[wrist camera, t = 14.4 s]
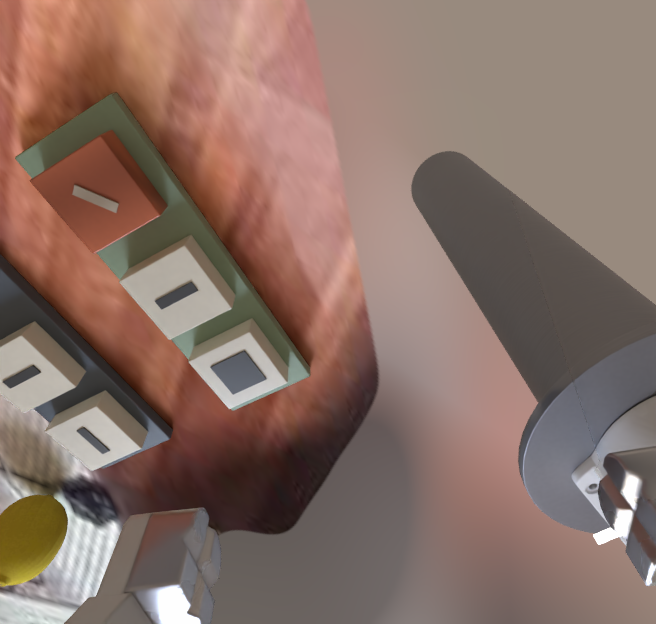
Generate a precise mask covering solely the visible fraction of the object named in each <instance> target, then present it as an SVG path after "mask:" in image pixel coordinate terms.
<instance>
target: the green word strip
mask: <svg viewBox="0 0 656 624" xmlns="http://www.w3.org/2000/svg"><path fill="white" fill-rule="evenodd" d="M109 130H113V131H114V133H115V134H116V136H117V137H118V138H119V140H120V141H121V142H122V144H123V145H124V146H125V148H126V149H127V150H128V152H129V153H130V155H131V156H132V157H133V159H134V160H135V161H136V163H137V164H138V165H139V167H140V168H141V170H142V171H143V172H144V174H145V175H146V176H147V178H148V179H149V180H150V182H151V183H152V185H153V186H154V187H155V189H156V190H157V191H158V193H159V194H160V195H161V197H162V198H163V200H164V201H165V202H166V204H167V205H168V207H167V208H166V209H165V210H164V212H163V213H162V214H161V215H160V216H159V217H157V218H156V219H154V220H152V221H151V222H149V223H147V224H145V225H144V226H142V227H140V228H138V229H137V230H135V231H133V232H131V233H130V234H128V235H126V236H124V237H123V238H121V239H119V240H118V241H116V242H114V243H112V244H111V245H109V246H107V247H105V248H104V249H102V250H100V251H98V252H97V254H98V255H99V256H100V257H101V259H102V260H103V261H104V262H105V263H106V264H107V266H108V267H109V268H110V269H111V270H112V271H113V273H114V274H115V275H116V276H117V277H118V278H119V279H120V281H119V282H120V284H121V285H122V286H123V287H124V288H125V289H126V291H127V292H128V293H129V294H130V295H131V296H132V297H133V299H134V300H135V301H136V302H137V303H138V304H139V306H140V307H141V308H142V309H143V310H144V311H145V312H146V314H147V315H148V316H149V317H150V318H151V319H152V321H153V322H154V323H155V324H156V325H157V326H158V327H159V329H160V330H161V331H162V332H163V333H164V334H165V336H166V337H167V338H168V339H169V340H170V339H171V340H172V341H173V342H174V343H175V344H176V346H177V347H178V348H179V349H180V350H181V351H182V352H183V354H184V355H185V356H186V357H187V358H188V359H189V361H188V362H189V363H190V364H191V366H192V367H193V368H194V369H195V370H196V371H197V372H198V374H199V375H200V376H201V377H202V378H203V379H204V381H205V382H206V383H207V384H208V385H209V386H210V387H211V389H212V390H213V391H214V392H215V393H216V394H217V396H218V397H219V398H220V399H221V400H222V401H223V402H224V404H225V405H226V406H227V407H228V408H229V409H232V410H236V409H238V408H240V407H242V406H244V405H247V404H249V403H251V402H253V401H256V400H258V399H260V398H262V397H265V396H267V395H269V394H271V393H274V392H276V391H278V390H280V389H282V388H285V387H287V386H289V385H291V384H294V383H296V382H298V381H300V380H303V379H305V378H307V377H309V376H310V367H309V366H308V364H307V363H306V361H305V360H304V359H303V357H302V356H301V354H300V353H299V351H298V350H297V349H296V347H295V346H294V344H293V343H292V341H291V340H290V339H289V337H288V336H287V334H286V333H285V331H284V330H283V329H282V327H281V326H280V324H279V323H278V321H277V320H276V319H275V317H274V316H273V314H272V313H271V311H270V310H269V309H268V307H267V306H266V304H265V303H264V301H263V300H262V299H261V297H260V296H259V294H258V293H257V292H256V290H255V289H254V287H253V286H252V284H251V283H250V282H249V280H248V279H247V277H246V276H245V274H244V273H243V272H242V270H241V269H240V267H239V266H238V264H237V263H236V262H235V260H234V259H233V257H232V256H231V254H230V253H229V252H228V250H227V249H226V247H225V246H224V244H223V243H222V242H221V240H220V239H219V237H218V236H217V234H216V233H215V232H214V230H213V229H212V227H211V226H210V224H209V223H208V222H207V220H206V219H205V217H204V216H203V214H202V213H201V212H200V210H199V209H198V207H197V206H196V205H195V203H194V202H193V200H192V199H191V197H190V196H189V195H188V193H187V192H186V190H185V189H184V187H183V186H182V185H181V183H180V182H179V180H178V179H177V177H176V176H175V175H174V173H173V172H172V170H171V169H170V167H169V166H168V165H167V163H166V162H165V160H164V159H163V157H162V156H161V155H160V153H159V152H158V150H157V149H156V147H155V146H154V145H153V143H152V142H151V140H150V139H149V137H148V136H147V135H146V133H145V132H144V130H143V129H142V127H141V126H140V125H139V123H138V122H137V120H136V119H135V118H134V116H133V115H132V113H131V112H130V110H129V109H128V108H127V106H126V105H125V103H124V102H123V100H122V99H121V98H120V96H119V95H118V93H113V94H110V95H108V96H107V97H105V98H104V99H102V100H101V101H99V102H98V103H96V104H95V105H93V106H92V107H90V108H89V109H87V110H86V111H84V112H83V113H81V114H79V115H78V116H76V117H75V118H73V119H72V120H70V121H69V122H67V123H66V124H64V125H63V126H61V127H60V128H58V129H57V130H55V131H54V132H52V133H51V134H49V135H48V136H46V137H45V138H43V139H42V140H40V141H39V142H37V143H36V144H34V145H33V146H31V147H30V148H28V149H27V150H25V151H24V152H22V153H21V154H19V155H18V156H16V157H15V159H16V160H17V161H18V162H19V164H20V165H21V166H22V167H23V168H24V169H25V171H26V172H27V173H28V174H29V175H30V176H31V178H34V177H35V176H37V175H38V174H40V173H41V172H43V171H45V170H46V169H48V168H49V167H51V166H52V165H54V164H55V163H57V162H59V161H60V160H62V159H63V158H65V157H66V156H68V155H69V154H71V153H73V152H74V151H76V150H77V149H79V148H80V147H82V146H83V145H85V144H87V143H88V142H90V141H91V140H93V139H94V138H96V137H97V136H99V135H101V134H103V133H105V132H107V131H109Z"/></svg>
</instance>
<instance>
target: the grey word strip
mask: <svg viewBox="0 0 656 624" xmlns="http://www.w3.org/2000/svg"><path fill="white" fill-rule="evenodd" d="M0 394H1V395H2V396H3V397H4V398H5V399H7V400H8V401H9V402H10V403H11V404H12V405H14V406H15V407H16V408H17V409H18V410H20V411H21V412H22V413H26V412H28V411H29V410H31V409H33V408H34V409H35V410H36V411H37V412H38V413H39V414H41V415H42V416H43V417H44V418H45V419H46V420H47V421H49V422H50V424H49V425H48V427H47V428H46V430H45V432H46V433H47V434H48V435H49V436H50V437H52V438H53V439H54V440H55V441H56V442H58V443H59V444H60V445H61V446H62V447H63V448H65V449H66V450H67V451H68V452H69V453H71V454H72V455H73V456H74V457H75V458H76V459H78V460H79V461H80V462H81V463H82V464H84V465H85V466H86V467H87V468H88V469H89V470H91V471H93V470H95V469H98V468H100V467H102V468H106V467H108V466H110V465H113V464H115V463H117V462H119V461H122V460H124V459H126V458H128V457H131V456H133V455H135V454H137V453H139V452H142V451H144V450H146V449H148V448H151V447H153V446H155V445H157V444H160V443H162V442H164V441H166V440H168V439H170V438H171V435H172V432H173V430H172V429H171V428H170V427H169V426H168V425H167V424H166V423H165V421H164V420H163V419H162V418H161V417H160V416H159V415H158V414H157V413H156V412H155V411H154V410H153V409H152V408H151V407H150V406H149V405H148V404H147V403H146V402H145V401H144V400H143V399H142V398H141V397H140V396H139V395H138V394H137V393H136V392H135V391H134V390H133V389H132V388H131V387H130V386H129V385H128V384H127V383H126V382H125V381H124V380H123V379H122V378H121V377H120V376H119V375H118V374H117V373H116V372H115V371H114V370H113V369H112V368H111V366H110V365H109V364H108V363H107V362H106V361H105V360H104V359H103V358H102V357H101V356H100V355H99V354H98V353H97V352H96V351H95V350H94V349H93V348H92V347H91V346H90V345H89V344H88V343H87V342H86V341H85V340H84V339H83V338H82V337H81V336H80V335H79V334H78V333H77V332H76V331H75V330H74V329H73V328H72V327H71V326H70V325H69V324H68V323H67V322H66V321H65V320H64V319H63V318H62V317H61V316H60V315H59V314H58V313H57V311H56V310H55V309H54V308H53V307H52V306H51V305H50V304H49V303H48V302H47V301H46V300H45V299H44V298H43V297H42V296H41V295H40V294H39V293H38V292H37V291H36V290H35V289H34V288H33V287H32V286H31V285H30V284H29V283H28V282H27V281H26V280H25V279H24V278H23V277H22V276H21V275H20V274H19V273H18V272H17V271H16V270H15V269H14V268H13V267H12V266H11V265H10V264H9V263H8V262H7V261H6V260H5V259H4V258H3V256H2V255H1V254H0Z"/></svg>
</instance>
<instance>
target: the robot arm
mask: <svg viewBox="0 0 656 624" xmlns="http://www.w3.org/2000/svg"><path fill="white" fill-rule="evenodd" d="M571 477H572V480H573V481H574V483H575V484H576V485H577V487H578V488H579V489H580V490H581V492H582V493H583V494H584V495H585V497H586V498H587V499H588V500H589V501H590V503H591V504H592V505H593V506H594V507H595V509H596V510H597V511H598V512H599V514H600V515H601V516H602V517H603V518H604V520H605V521H606V522H607V523H608V525H609V526H610V527H611V528H609V529H606V530H604V531H601V532H599V533H597V534H594V535H593V536H594V537H595V539H596V541H597V543H598V544H601V543H604V542H606V541H609V540H611V539H613V538H616V537H619V538H620V539H621V540H622V542H623V543H624V544H625V545H626V553H627V555H628V556H629V558H630V560H631V561H632V563H633V564H634V566H635V568H636V569H637V571H638V573H639V574H640V576H641V578H642V579H643V581H644V582H645V584H646V585H647V586H654V585H656V396H654V397H651V398H649V399H647V400H645V401H643V402H642V403H640V404H638V405H637V406H635V407H633V408H632V409H630V410H629V411H627V412H626V413H625V414H624V415H622V416H621V417H620V418H619V419H618V420H616V421H615V422H614V423H613V424H612V425H611V426H610V428H609V429H608V430H607V431H606V432H605V434H604V435H603V437H602V438H601V440H600V441H599V443H598V445H597V447H596V449H595V450H594V452H593V453H592V455H591V456H590V457H589V458H588V459H586V460H585V461H584V462H583V463H582V464H581V465H579V466H578V467H577V468H576V469H575V470H574V472H573V473H572V476H571ZM208 522H209V516H208V514H207V512H206V510H205V508H204V507H203V508H194V509H184V510H174V511H165V512H155V513H147V514H139V515H131V516H130V517H129V518H128V520H127V521H126V522H125V523H124V526H123V528H122V531H121V533H120V536H119V539H118V541H117V544H116V546H115V549H114V551H113V554H112V557H111V559H110V562H109V564H108V567H107V570H106V572H105V575H104V577H103V580H102V582H101V585H100V588H99V590H98V593H97V595H96V597H90V598H88V599H87V600H86V601H85V602H84V603H83V604H82V605H81V606H80V607H79V608H78V609H77V611H76V612H75V613H74V614H73V615H72V616H71V617H70V618H69V619H68V620H67V621H66V622H65V623H64V624H211V619H212V614H213V608H214V603H215V601H214V598H213V597H212V594H211V592H210V589H211V588H212V586H213V585H214V584H215V582H216V581H217V580H218V579H219V573H220V567H221V547H220V542H219V538H218V535H217V533H216V531H215V530H213V529H212V528H210V527H208Z"/></svg>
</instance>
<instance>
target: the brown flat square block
mask: <svg viewBox="0 0 656 624" xmlns="http://www.w3.org/2000/svg"><path fill="white" fill-rule="evenodd" d="M30 182H31V183H32V184H33V186H34V187H35V188H36V189H37V190H38V191H39V192H40V194H41V195H42V196H43V197H44V198H45V199H46V200H47V202H48V203H49V204H50V205H51V206H52V207H53V209H54V210H55V211H56V212H57V213H58V214H59V215H60V217H61V218H62V219H63V220H64V221H65V222H66V223H67V225H68V226H69V227H70V228H71V229H72V230H73V232H74V233H75V234H76V235H77V236H78V237H79V238H80V240H81V241H82V242H83V243H84V244H85V245H86V247H87V248H88V249H89V250H90V251H91V252H92V253H93V254H95V253H97V252H98V251H100V250H102V249H104V248H105V247H107V246H109V245H111V244H112V243H114V242H116V241H118V240H119V239H121V238H123V237H124V236H126V235H128V234H130V233H131V232H133V231H135V230H137V229H138V228H140V227H142V226H144V225H145V224H147V223H149V222H151V221H152V220H154V219H156V218H157V217H159V216H160V215H161V214H162V213H163V212H164V210H165V209H166V208H167V207H168V205H167V204H166V202H165V201H164V200H163V198H162V197H161V195H160V194H159V193H158V191H157V190H156V189H155V187H154V186H153V185H152V183H151V182H150V180H149V179H148V178H147V176H146V175H145V174H144V172H143V171H142V170H141V168H140V167H139V165H138V164H137V163H136V161H135V160H134V159H133V157H132V156H131V155H130V153H129V152H128V150H127V149H126V148H125V146H124V145H123V144H122V142H121V141H120V140H119V138H118V137H117V136H116V134H115V133H114V131H113V130H109V131H107V132H105V133H103V134H101V135H99V136H97V137H96V138H94V139H93V140H91V141H90V142H88V143H87V144H85V145H83V146H82V147H80V148H79V149H77V150H76V151H74V152H73V153H71V154H69V155H68V156H66V157H65V158H63V159H62V160H60V161H59V162H57V163H55V164H54V165H52V166H51V167H49V168H48V169H46V170H45V171H43V172H41V173H40V174H38V175H37V176H35V177H34V178H32V179H31V180H30Z"/></svg>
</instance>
